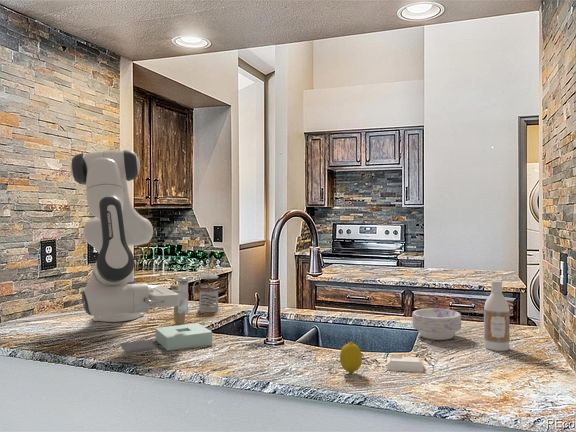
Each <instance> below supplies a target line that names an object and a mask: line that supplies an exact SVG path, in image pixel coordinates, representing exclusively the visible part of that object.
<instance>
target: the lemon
mask: <svg viewBox="0 0 576 432" xmlns="http://www.w3.org/2000/svg"><path fill="white" fill-rule="evenodd" d="M339 362H340V366H341V367H342V369H344V370H345V371H347V372H348V373H349V374H353V373H354V372H356V371H358V370H359V369H360V368H361V366H362V362H363V355H362V350H361V349H360V347H359V346H358V345H357V344H355V343H353V341H349V342H348V343H346V344H344V345H343V346H342V347H341V349H340V353H339Z"/></svg>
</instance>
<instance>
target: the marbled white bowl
mask: <svg viewBox="0 0 576 432" xmlns="http://www.w3.org/2000/svg"><path fill="white" fill-rule="evenodd" d="M411 314H412V316H411V317H412V319H411V322H412V328H413V329H415V330H417V331H418V333H419V335H420V336H421V337H422V338H424V339H428V340H433V341H446V340H450V339H452V338H454V336H455V334H456V332H459V331H461V329H462V314H461V313H460V311H459V312H458V311H455V310H453V309H447V308H422V309H421V308H420V309H416V310H414V311H412V313H411Z"/></svg>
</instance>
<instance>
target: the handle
mask: <svg viewBox="0 0 576 432" xmlns="http://www.w3.org/2000/svg"><path fill="white" fill-rule="evenodd" d="M170 290H178V283H174V284H170ZM173 320H174V326H177V325H185V321H186V313H178V306H175V307H173Z"/></svg>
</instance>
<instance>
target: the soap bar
mask: <svg viewBox="0 0 576 432" xmlns="http://www.w3.org/2000/svg"><path fill="white" fill-rule="evenodd" d="M386 368H387V371H398V372H399V371H401V372H402V371H403V372H420V373H421V372H422V373H423V372H424V364H423V360H422V359H420V357H412V356H411V357H410V356H407V357H406V356H393V355H390V356H389V357H387V358H386Z"/></svg>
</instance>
